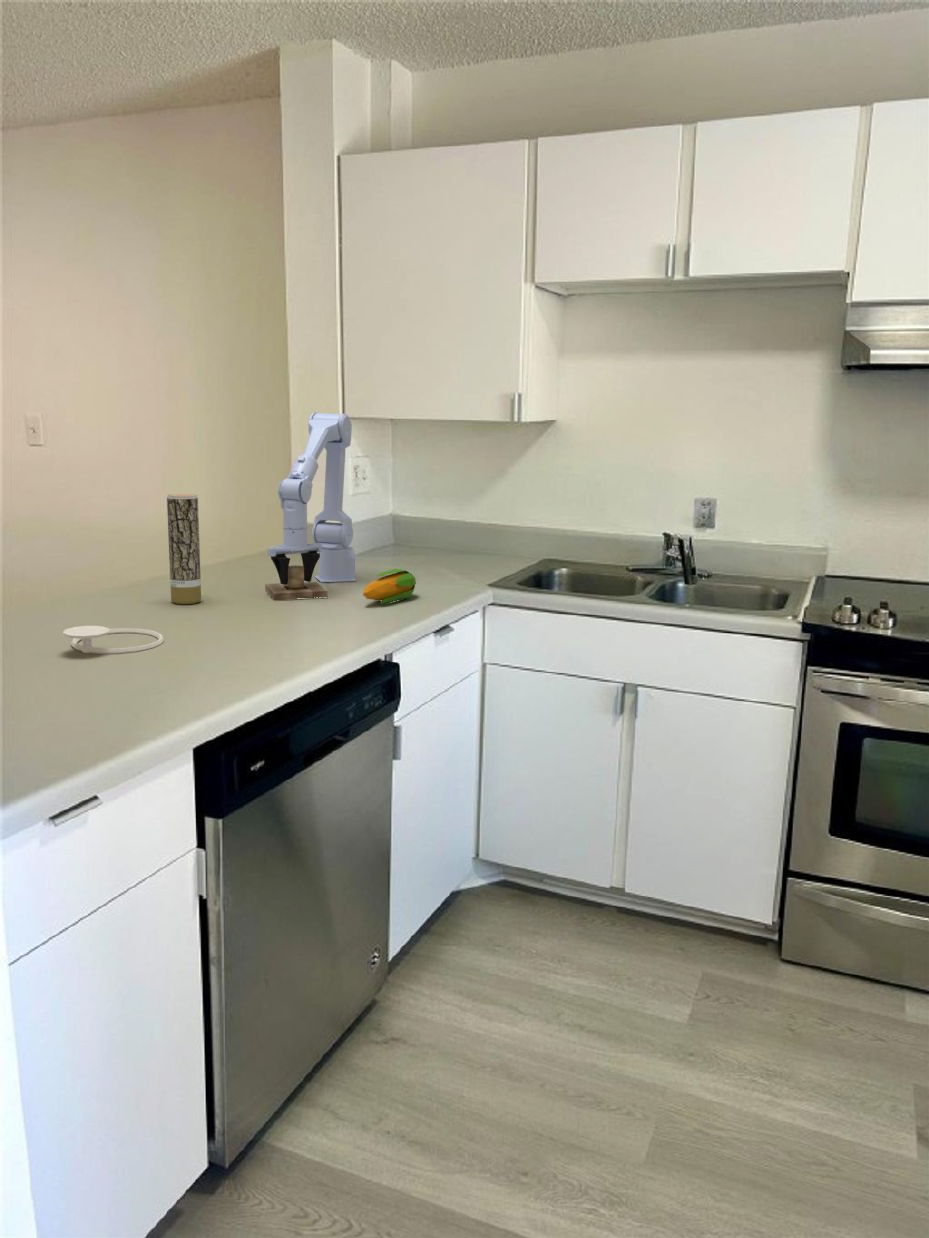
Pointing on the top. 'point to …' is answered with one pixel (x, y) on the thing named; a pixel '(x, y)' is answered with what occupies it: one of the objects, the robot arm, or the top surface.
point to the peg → (295, 577)
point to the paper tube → (184, 548)
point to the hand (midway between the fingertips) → (295, 582)
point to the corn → (391, 586)
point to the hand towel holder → (98, 631)
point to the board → (295, 591)
